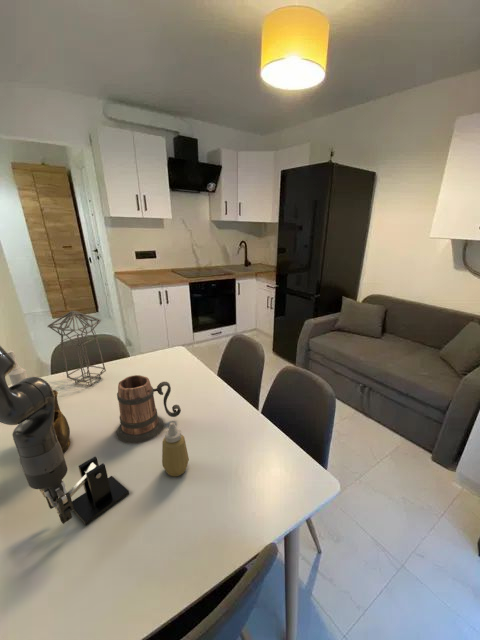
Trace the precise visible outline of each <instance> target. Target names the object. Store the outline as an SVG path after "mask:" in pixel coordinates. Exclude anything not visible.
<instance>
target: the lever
mask: <svg viewBox="0 0 480 640" xmlns="http://www.w3.org/2000/svg"><path fill="white" fill-rule="evenodd" d="M96 467H97V465H96V464H95V463H93V462H92V463H91V464H90V465H89V466H88V467H87V468H86V469H85V470H84V472H85V473H87V472H89V471H91V470H92V469H94V468H96ZM87 480H88V479H87V476H86V474H85V475H84V476H83V477H82V478H81V477H80V479H79V480H78V481H77V482H76V483H75V484H74V485H73V487H71V488H70V489H69V491H68V492H69V493H70V494H71V495H70V496H71V498H72V497H73V496H74V495H75V494H76V493H77V492H78V491H79V490H80V489H81V487H83V486H84V485H83V484H84V483H85V482H86V481H87ZM56 499H57V498H56ZM56 499H53V501H54V502H55V501H56Z"/></svg>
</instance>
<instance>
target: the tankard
mask: <svg viewBox="0 0 480 640" xmlns="http://www.w3.org/2000/svg"><path fill="white" fill-rule="evenodd" d="M117 386H118V387H117V393H116V399H117V401H118V409H119V423H120V424H119V426H118V427H117V429H116V430H115V431H116V432H115V435H116V438H117V439H118V440H119V441H121V442H123V443H125V444H139V443H140V444H141V443H145V442H148V441H150V440H153V439H155V438H156V437H158V435H160V434H161V433H162V431H163V430H164V428H165V421H164V420H163V419H162V418H161V417H160V416H158V409H157V408H156V402H155V397H154V393H155V392H157V393H158V394H159V395H160V396H163V395H164V396H163V406H164V410H165V413H166V414H167V416H168V417H171V418H177V417H178V416H179V415H180V414H181V411H182V409H181V406H180V405H179V404H173V406H172V407H171V410H172V411H170V410H169V409H168V405H167V400H168V398H169V396H170V394H171V391H172V388H171V384H170V383H169V381H161V382H159V383H158V385H157V386H156V388H154V387H153V386H152V384H151V381H150V379H149V378H148V377H147V376H144V375H139V374H134V375H130V376H127V377H125V378H123V379H121V380H120V381H119V382H118V384H117ZM163 387H167V389H166V392H165V393H164V392H163Z"/></svg>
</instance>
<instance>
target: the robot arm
mask: <svg viewBox="0 0 480 640" xmlns="http://www.w3.org/2000/svg"><path fill="white" fill-rule="evenodd" d="M14 368H15V362H14V360H13V359H12V358H11V357H10V356H9V354H7V351H6V350H5V349H4V348H3V347H2V345H0V423H1V424H3V425H8V426H16V427H15V428H14V429H13V432H12V439H13V442H14V445H15V448H16V451H17V454H18V458H19V463H20V466H21V468H22V472H23V474H24V476H25V479H26V482H27V484H28V485H27V486H29V488H31V489H33V490H39V492H40V493H41V495H42V496H43V497H44V498H45V499H46V503H47V504H48V507H49V509H50V510H52V509H55V510H56V513H57V514H58V517H59V520H60V522H61V524H63V525H64V524H66V523H67V522H69V521H71V520H72V518H73V515H72V511H73V510H74V507H73V504H72V501H73V500H72V497H71V496H70V495H71V494H70V493H69V491H67V489H66V484H65V482H64V478H65V477H66V475H67V473H68V465H67V462H66V458H65V455H64V453H63V452H62V448H61V445H60V443H59V442H58V439H57V436H56V433H55V429H54V426H53V422H54V407H55V397H54V392H53V390H54V389H53V388H52V386H51V384H50V383H49V382H47V380H45V379H43V378H41V377H38V376H29V377H27V378H26V379H23V380H22V381H20V382H18V383H16V384H14V385H11V386H9V385H8V383H7V380H6V376H8V374H9V373H10V372H11V371H12V370H13V369H14ZM56 498H57V499H56ZM53 499H56V501H55V502H54V501H53Z"/></svg>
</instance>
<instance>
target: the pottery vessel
mask: <svg viewBox="0 0 480 640" xmlns="http://www.w3.org/2000/svg"><path fill="white" fill-rule="evenodd" d="M52 390H53V392H54V397H55V407H54V422H53V426H54V429H55V433H56V436H57V439H58V442H59V443H60V445H61V448H62V452H63V454H64V453H66V452H67V450H69V448H70V447H71V439H70V437H71V433H70V432H71V429H70V425H69V422H68V420H67V417H66V416H65V415H64V414H63V412H62V411H61V408H60V406H59V405H60V404H59V401H58V394H59V392H58V390H56V389H52Z"/></svg>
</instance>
